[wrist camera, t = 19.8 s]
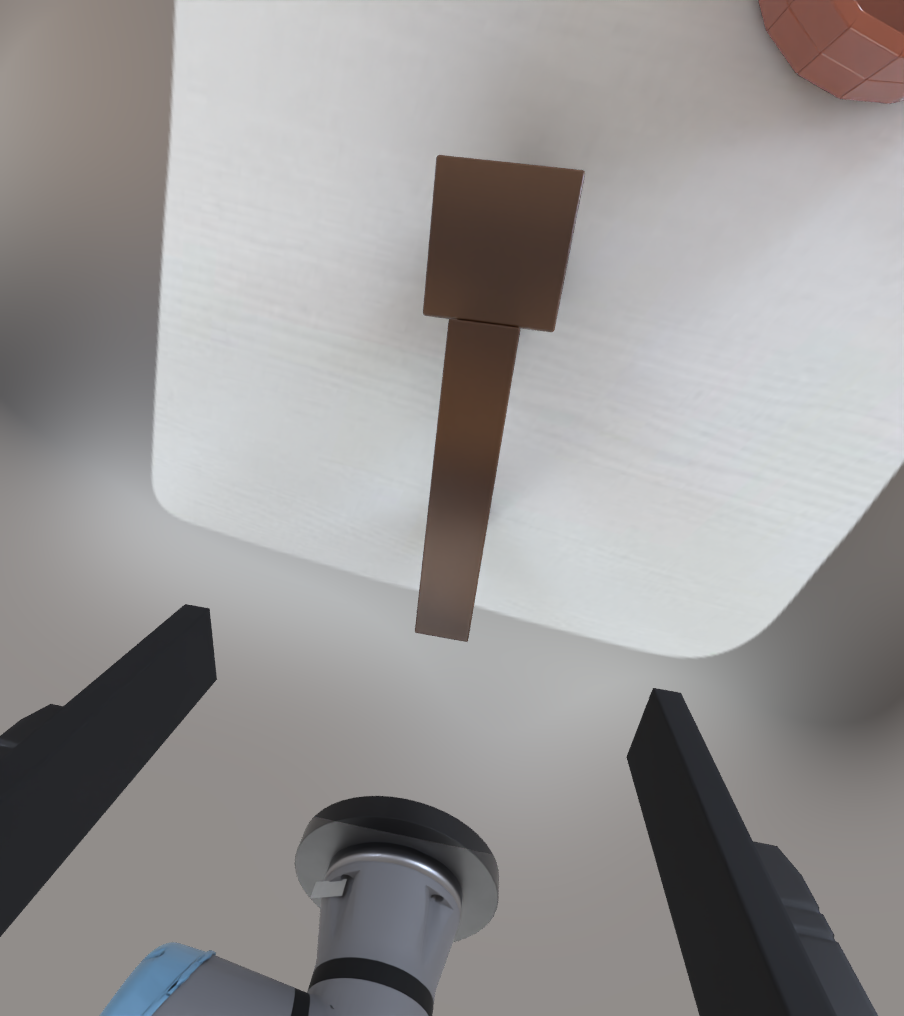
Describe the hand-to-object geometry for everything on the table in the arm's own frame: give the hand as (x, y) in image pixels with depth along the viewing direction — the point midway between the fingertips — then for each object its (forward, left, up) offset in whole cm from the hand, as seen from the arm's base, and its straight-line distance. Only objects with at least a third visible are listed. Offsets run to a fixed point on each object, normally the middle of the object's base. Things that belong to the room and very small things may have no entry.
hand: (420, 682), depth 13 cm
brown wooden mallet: (+6, 0, -18) cm, 19 cm away
